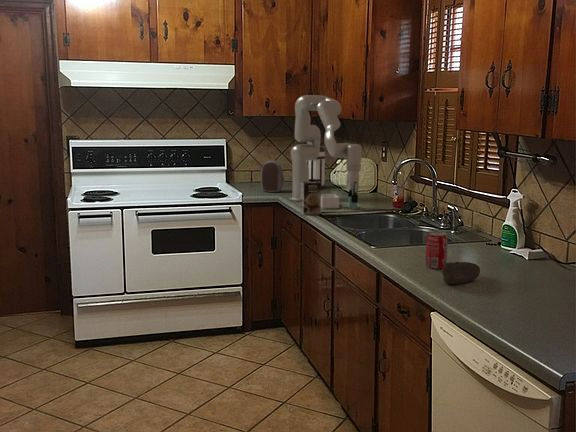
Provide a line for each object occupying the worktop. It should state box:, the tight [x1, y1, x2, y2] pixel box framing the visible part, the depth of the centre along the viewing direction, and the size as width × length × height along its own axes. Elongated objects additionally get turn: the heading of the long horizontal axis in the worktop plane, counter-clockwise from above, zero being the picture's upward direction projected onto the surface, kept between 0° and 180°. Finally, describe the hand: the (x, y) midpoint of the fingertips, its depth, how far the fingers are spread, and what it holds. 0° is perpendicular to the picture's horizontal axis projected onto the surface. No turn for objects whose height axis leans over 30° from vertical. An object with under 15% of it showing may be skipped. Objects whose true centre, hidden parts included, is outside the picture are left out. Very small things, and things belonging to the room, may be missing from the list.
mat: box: [339, 202, 365, 210], centre depth 329 cm, size 18×12×1 cm, turn 5°
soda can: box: [425, 231, 448, 270], centre depth 209 cm, size 7×7×12 cm
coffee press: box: [306, 145, 327, 190], centre depth 394 cm, size 17×16×30 cm
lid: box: [339, 197, 362, 209], centre depth 327 cm, size 15×10×6 cm, turn 5°
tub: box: [321, 193, 340, 210], centre depth 328 cm, size 12×9×6 cm
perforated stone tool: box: [442, 261, 481, 285], centre depth 192 cm, size 15×5×7 cm, turn 113°
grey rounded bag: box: [260, 159, 285, 193], centre depth 379 cm, size 15×8×20 cm, turn 72°
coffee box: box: [299, 182, 322, 216], centre depth 307 cm, size 9×6×16 cm
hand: (352, 201), depth 321 cm, fingers open, 8 cm apart
